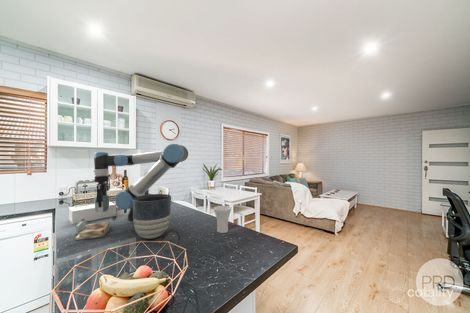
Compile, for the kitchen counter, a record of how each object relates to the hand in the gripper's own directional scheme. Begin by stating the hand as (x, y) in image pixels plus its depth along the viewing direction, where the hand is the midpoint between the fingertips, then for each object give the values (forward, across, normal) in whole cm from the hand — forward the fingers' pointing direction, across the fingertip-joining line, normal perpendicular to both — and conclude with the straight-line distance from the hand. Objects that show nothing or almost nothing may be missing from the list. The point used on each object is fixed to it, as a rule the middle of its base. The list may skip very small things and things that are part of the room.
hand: (102, 210), depth 125 cm
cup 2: (+11, +42, +68) cm, 81 cm away
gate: (+8, +9, -9) cm, 15 cm away
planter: (+10, +35, +30) cm, 47 cm away
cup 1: (+1, 0, 0) cm, 1 cm away
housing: (+9, +17, -1) cm, 19 cm away
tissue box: (+9, -20, -10) cm, 24 cm away
